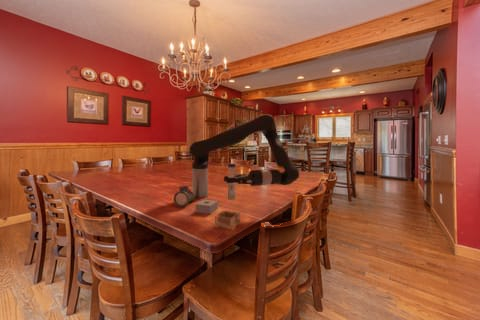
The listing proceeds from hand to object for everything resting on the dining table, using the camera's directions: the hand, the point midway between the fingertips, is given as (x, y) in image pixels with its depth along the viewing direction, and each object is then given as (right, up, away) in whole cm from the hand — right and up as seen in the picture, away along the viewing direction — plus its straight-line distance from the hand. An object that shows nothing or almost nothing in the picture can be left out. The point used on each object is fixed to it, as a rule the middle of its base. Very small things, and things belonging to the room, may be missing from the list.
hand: (225, 179), depth 95 cm
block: (-10, -16, +9) cm, 21 cm away
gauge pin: (+3, -9, +2) cm, 9 cm away
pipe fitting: (-23, -15, +20) cm, 34 cm away
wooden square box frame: (+1, -18, -7) cm, 19 cm away
